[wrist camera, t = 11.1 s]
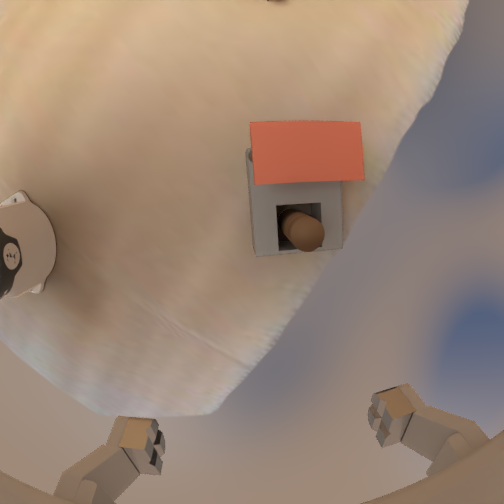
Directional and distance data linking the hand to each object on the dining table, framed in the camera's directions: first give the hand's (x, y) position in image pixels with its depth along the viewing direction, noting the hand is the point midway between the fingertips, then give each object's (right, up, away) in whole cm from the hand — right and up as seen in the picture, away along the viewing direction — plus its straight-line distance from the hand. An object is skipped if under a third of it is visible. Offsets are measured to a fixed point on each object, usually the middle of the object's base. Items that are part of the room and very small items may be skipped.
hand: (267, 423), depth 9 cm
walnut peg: (+5, +11, +33) cm, 35 cm away
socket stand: (+5, +14, +32) cm, 35 cm away
